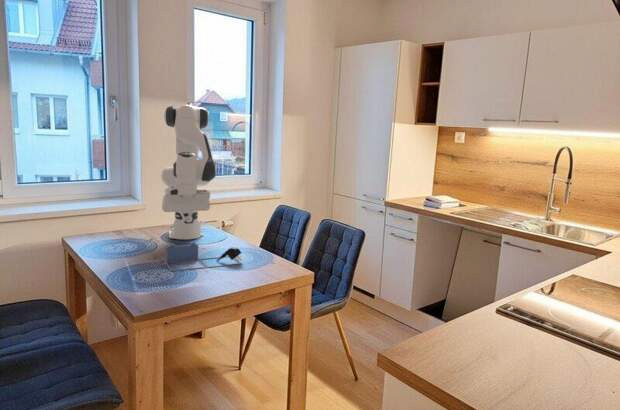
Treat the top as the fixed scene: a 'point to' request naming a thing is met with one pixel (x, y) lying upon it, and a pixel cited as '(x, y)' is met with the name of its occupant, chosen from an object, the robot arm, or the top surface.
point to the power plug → (231, 254)
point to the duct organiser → (187, 255)
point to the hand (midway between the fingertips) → (186, 221)
